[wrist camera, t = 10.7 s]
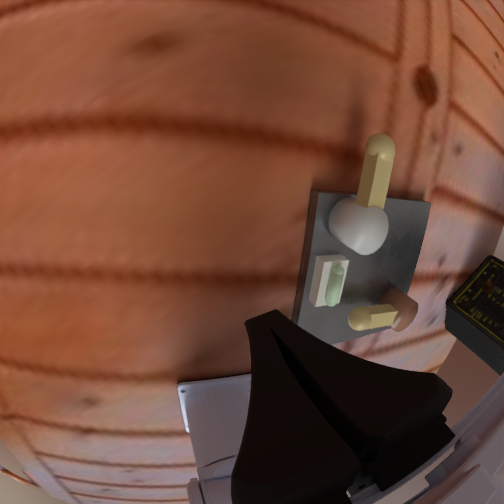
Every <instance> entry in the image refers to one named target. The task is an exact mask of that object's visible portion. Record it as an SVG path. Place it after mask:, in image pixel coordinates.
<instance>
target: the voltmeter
mask: <svg viewBox="0 0 504 504" xmlns="http://www.w3.org/2000/svg"><path fill="white" fill-rule="evenodd" d="M446 308H447V316H446V324H445V328H446V330H448V331H449V332H450V333H451V334H452V335H454V336H455V337H456V338H457V339H459V340H460V341H461V342H462V343H463V344H464V345H466V346H467V347H468V348H469V349H470V350H472V351H473V352H474V353H475V354H476V355H477V356H479V357H480V358H481V359H482V360H483V361H484V362H485V363H487V364H488V365H489V366H490V367H491V368H492V369H493V370H494V371H495V372H497V373H498V374H499V375H500V376H501V375H502V374H503V372H504V262H503V261H501V260H500V259H498V258H496V257H494V256H492V255H490V256H488V258H487V259H486V260H485V261H484V262H483V264H482V265H481V266H480V267H479V268H478V269H477V270H476V271H475V273H474V274H473V275H472V276H471V277H470V278H469V279H468V280H467V281H466V282H465V283H464V284H463V286H462V287H461V288H460V289H459V290H458V291H457V292H456V293H455V294H454V295H453V296H452V297H451V298H450V299H449V300H448V301H447V302H446Z"/></svg>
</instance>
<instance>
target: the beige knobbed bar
mask: <svg viewBox="0 0 504 504" xmlns="http://www.w3.org/2000/svg"><path fill="white" fill-rule="evenodd" d="M417 311H418V304H417V302H415V301H414V300H413V299H411V298H410V297H409V296H407V295H406V294H405V293H403V292H402V291H401V290H399V289H398V288H396V287H393V288H390V289H388V290H387V291H386V292H385V293H384V294H383V295H382V296H381V297H380V299H379V301H378V303H377V305H373V306H358V307H355V308H353V309H352V310H351V311H350V313H349V315H348V323H349V325H350V327H351V328H352V329H354V330H357V331H362V330H365V329H372V328H378V327H383V326H390V327H391V328H392V329H393V330H395V331H396V332H399V331H402V330H404V329H405V328H407V327H408V326H409V325H410V324H411V322H412V321H413V320H414V318H415V316H416V314H417Z"/></svg>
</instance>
